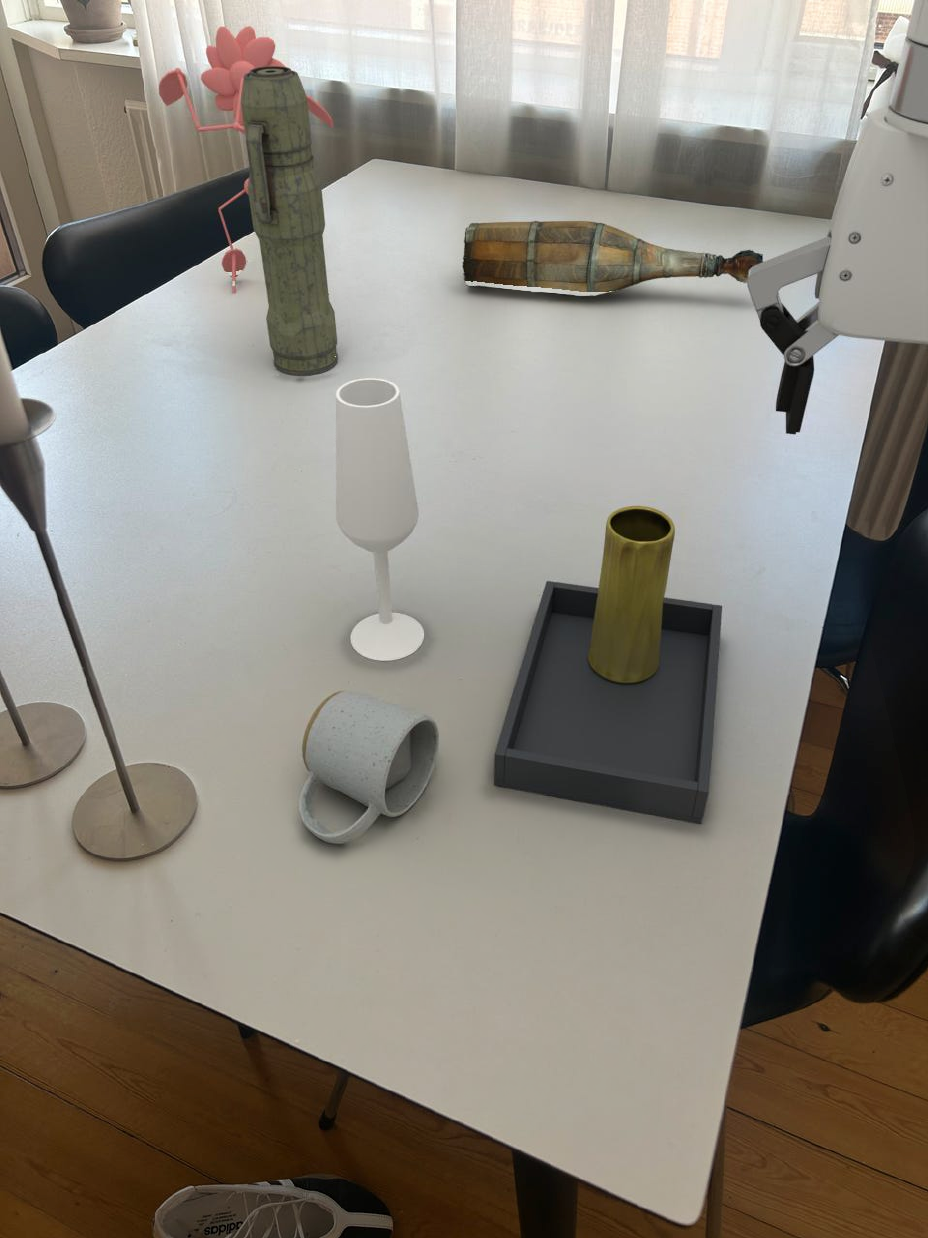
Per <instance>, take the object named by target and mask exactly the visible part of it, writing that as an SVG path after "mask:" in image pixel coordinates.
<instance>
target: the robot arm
mask: <svg viewBox="0 0 928 1238" xmlns="http://www.w3.org/2000/svg"><path fill="white" fill-rule="evenodd" d="M888 104H889V105H888V106H887V108H878V109H874V110H872V111H870V112H869V113H868V115H867V117H866V119H865V122H864V124H863V126H862V128H861V130H860V133H859V135H858V138H857V140H856V143H855V146H854V148H853V151H852V154H851V156H850V159H849V161H848V164H847V167H846V170H845V173H844V177H843V180H842V183H841V186H840V189H839V192H838V194H837V195H838V196H837V198H836V201H835V202H836V203H835V206H834V209H833V212H832V215H831V220H830V222H829V227H828V230H827V234H826V237H823V238H820V239H818V240H816V241H813V242H811V243H808V244H805V245H803V246H800V247H797V248H795V249H792V250H790V251H788V252H785V253H783V254H780V255H778V256H775V257H773V258H769V259H767V260H765V261H763V262H762V263H760V264H757V265H754V266H753V267H751V268H750V270H749V271H748V276H747V283H746V286H747V289H748V292H749V295H750V298H751V301H752V304H753V306H754V309H755V312H756V314H757V317H758V321H759V325H760V327H761V330H762V331H763V332H764V333H765V334H766V336H767V337H768V338H769V339H770V340H771V342H772V343H773V344H774V346H775V347H776V348H777V349H778V350H779V352H780V353H781V354H782V356H783V360H784V361H783V366H782V370H781V371H782V372H781V375H780V381H779V385H778V391H777V395H776V401H775V412H779V413H785V434H787V435H797V433H801V429H802V425H803V421H804V418H805V413H806V408H807V404H808V400H809V397H810V392H811V387H812V382H813V379H814V374H815V360H814V359H815V358H814V355H816V354H817V353H818V352H819V351H821V350H822V349H823V348H824V347H826V346H827V345H828V344H830V343H831V342H832V341H834V340H835V339H836V338H838V337H839V336H842V337H848V338H853V339H863V340H873V341H874V340H875V341H885V342H895V343H907V344H916V345H917V344H919V345H928V0H914V1H913V5H912V9H911V14H910V18H909V22H908V26H907V30H906V36H905V38H904V41H903V45H902V51H901V54H900V58H899V61H898V66H897V70H896V75H895V79H894V83H893V86H892V91H891V96H890V100H889V103H888ZM814 275H816V279H815V285H814V298H815V299H816V300H817V299H818V302H816V304H814V305H813V306H812V307H811V308H810V309H808V310H807V311H806V312H804V313H803V314H802V315H801V316H800V317H799V318H797V319H795V318H794V316H793V315H792V313H790V311H789V310H788V309H787V307H786V306H785V305H784V304H783V302H782V300H781V297H780V292H779V291H780V290H781V289H782V288H784V287H786V286H788V285H790V284H794V283H796V282H798V281H801V280H805V279H806V278H809V277H812V276H814Z"/></svg>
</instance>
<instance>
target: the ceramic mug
mask: <svg viewBox="0 0 928 1238" xmlns="http://www.w3.org/2000/svg"><path fill="white" fill-rule="evenodd" d="M439 740H440V734H439V728H438V725H437V723H436V721H435V720H434V719H433V718H432V717H431V716H430V715H428V714H424V713H421V712H418V711H415V710H412V709H409V708H407V707H404V706H400V705H398V704H395V703H392V702H389V701H386V700H383V699H379V698H377V697H375V696H371V695H368V694H366V693H362V692H358V691H352V690H339V691H336V692H333V693H331V694H330V695H329V696H327V697H326V698H324V700H322V702H320V704H319V705H318V706H317V707H316V708H315V710H314V711H313V713H312V715H311V717H310V719H309V721H308V722H307V724H306V728H305V729H304V733H303V737H302V745H301V755H302V761H303V763H304V766H305V768H306V770H307V771H308V773H309V774H310V775H309V776H308V778H307V779H306V781H305V782H304V784H303V787H302V789H301V791H300V795H299V800H298V811H299V816H300V819H301V821H302V823H303V825H304V827H306V829H308V831H310V832H311V833H312V834H313V835H314V836H315V837H317V838H318V839H320V840H322V841H323V842H326V843H329V844H334V845H335V844H337V845H338V844H341V845H342V844H344V843H349V842H351V841H354V840H356V839H357V838H359V837H360V836H362V835H363V834H364V833H365V832H366V831H367V829H369V828H370V827H371V826H372V825H373V824H374V822H375V821H376V820H377V819H378V817H379V816H380V815H384V816H387V817H390V818H396V817H399V816H401V815H403V814H405V813H407V811H409V809H410V808H411V807H412V806H413V805H415V803H416V802H417V801H418V799H419V798H420V797H421V795H422V794H423V792H424V790H425V788H426V787H427V785H428V783H429V781H430V778H431V777H432V774H433V772H434V769H435V766H436V762H437V759H438V758H437V757H438V752H439V744H440V741H439ZM320 784H324V785H325V786H327V787H329V788H331V789H333V790H336V791H339V792H341V793H342V794H345V795H346V796H348V797H350V798H352V799H353V800H355V801H356V802H358V803H361V804H362V805H364V806H365V807H368V808H367V809H366V811H365V812H364V813H363V814H362V815H361V816H359V818H358V819H357V820H356V821H355V822H354V823H353V824H351V825H350V826H348V827H346V828H344V829H342V830H338V831H335V832H330V831H328V830H327V829H325V828H324V827H323V826H322V825H321V824H320V823H319V821H318V819H317V818H314V817H312V816H311V815H312V814H311V805H312V803H313V798H314V796H315V793H316V792H317V789H318V788H319V785H320Z"/></svg>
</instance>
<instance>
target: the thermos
mask: <svg viewBox="0 0 928 1238" xmlns="http://www.w3.org/2000/svg"><path fill="white" fill-rule="evenodd" d="M306 94H307V93H306V91H305V88H304V85H303V83H302V81H301V78H300V76H299V73H298V72H296V71H295V70H293V69H292V68H290V67H288V66H286V67H282V66H267V67H259V68H254V69H252V70H250V72H249V73H247V74H245V75H244V79H243V86H242V93H241V109H242V116H243V123H244V126H243V127H244V130H245V134H244V136H245V137H244V138H245V145H246V152H247V158H248V165H249V176H248V178H249V181H248V194H249V195H248V194H247V195H248V200H249V206H250V207H249V208H250V214H251V220H252V228H253V231H254V233H255V235H256V236H257V238H258V241H259V248H260V255H261V260H262V261H261V263H262V269H263V277H264V283H265V290H266V298H267V305H268V307H267V313H266V317H265V320H266V325H267V334H268V339H269V340H268V341H269V346H270V349H271V350H272V355H273V365H274V367H275V369H276V370H277V371H279V372H281V373H282V374H285V375H289V376H296V377H297V376H298V377H305V376H314V375H320V374H323V373H325V372H328V371H330V370H332V369H333V368H335V366H336V365H337V364H338V363H339V355H338V352H337V351H338V349H337V345H338V332H337V323H336V314H335V313H336V312H335V309H334V307H333V306H332V304H331V301H330V293H329V286H328V276H327V265H326V257H325V246H324V237H323V236H324V232H325V228H326V219H325V210H324V209H325V208H324V197H323V189H322V181H321V179H320V176H319V174H318V171H317V169H316V167H315V161H314V159H315V158H314V155H313V150H312V143H313V140H312V130H311V123H310V111H309V110H308V101H307V96H306ZM335 356H336V357H335Z"/></svg>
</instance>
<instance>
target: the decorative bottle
mask: <svg viewBox="0 0 928 1238" xmlns="http://www.w3.org/2000/svg"><path fill="white" fill-rule="evenodd" d="M463 243H464V247H463V257H462V260H463V261H462V271H463V273H462V274H463V280H464V282H465V281H471V282H473V281H477V282H485V283H494V284H503V285H513V286H527V287H541V288H552V289H562V290H570V291H579V292H609V291H615V292H617V291H616V290H618V291H621V290H623V289H626V288H629V287H631V286H632V287H633V286H636V285H639V284H641V283H644V282H647V281H651V280H659V279H670V278H688V277H690V278H692V277H693V278H695V277H698V278H700V279H701V278H703V279H706V278H713V277H715V276H716V277H717V278H718V277H721V276H722V275H727V274H728V275H729V276H731V278H734V279H735V280H736V282H739V283H743V284H747V276H748V271H749V270H750V268H751V267H753V266H754V265H757V264H760V263H762V262H764V254H762V253H760V252H755V251H754V250H751V249H744V250H740V251H739V252H736V253H735V254H734V255H733V256H732V257H728V258H725V257H724V256H723V254H722V255H721V254H720V255H717V254H715V253H714V254H713V253H710V252H704V251H703V252H695V251H688V250H687V251H686V250H679V249H673V248H667V247H663V246H660V245H656V244H653V243H649V242H647V241H645V240H644V239H642V238H639V237H636V236H635V235H632V234H631V233H628V232H626V231H624V230H622V229H619V228H617V227H615V226H611V225H608V224H606V223H603V222H595V221H589V220H560V221H559V220H557V221H554V220H551V221H544V220H543V221H538V220H533V221H499V222H498V221H497V222H471V223H470V224H468V227H466V228H465V230H464V238H463Z"/></svg>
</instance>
